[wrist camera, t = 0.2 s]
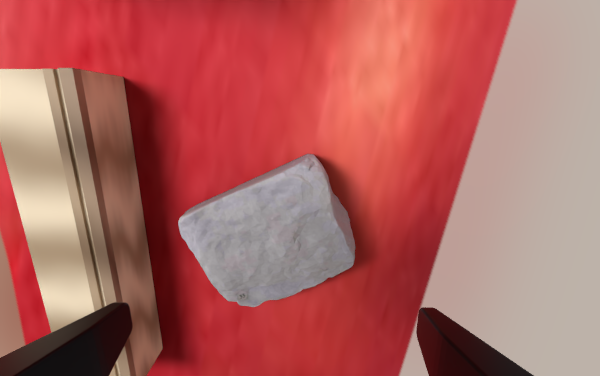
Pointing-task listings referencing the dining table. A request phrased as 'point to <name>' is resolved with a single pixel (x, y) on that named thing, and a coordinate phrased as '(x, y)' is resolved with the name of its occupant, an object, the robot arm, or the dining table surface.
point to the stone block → (271, 234)
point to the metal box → (81, 200)
